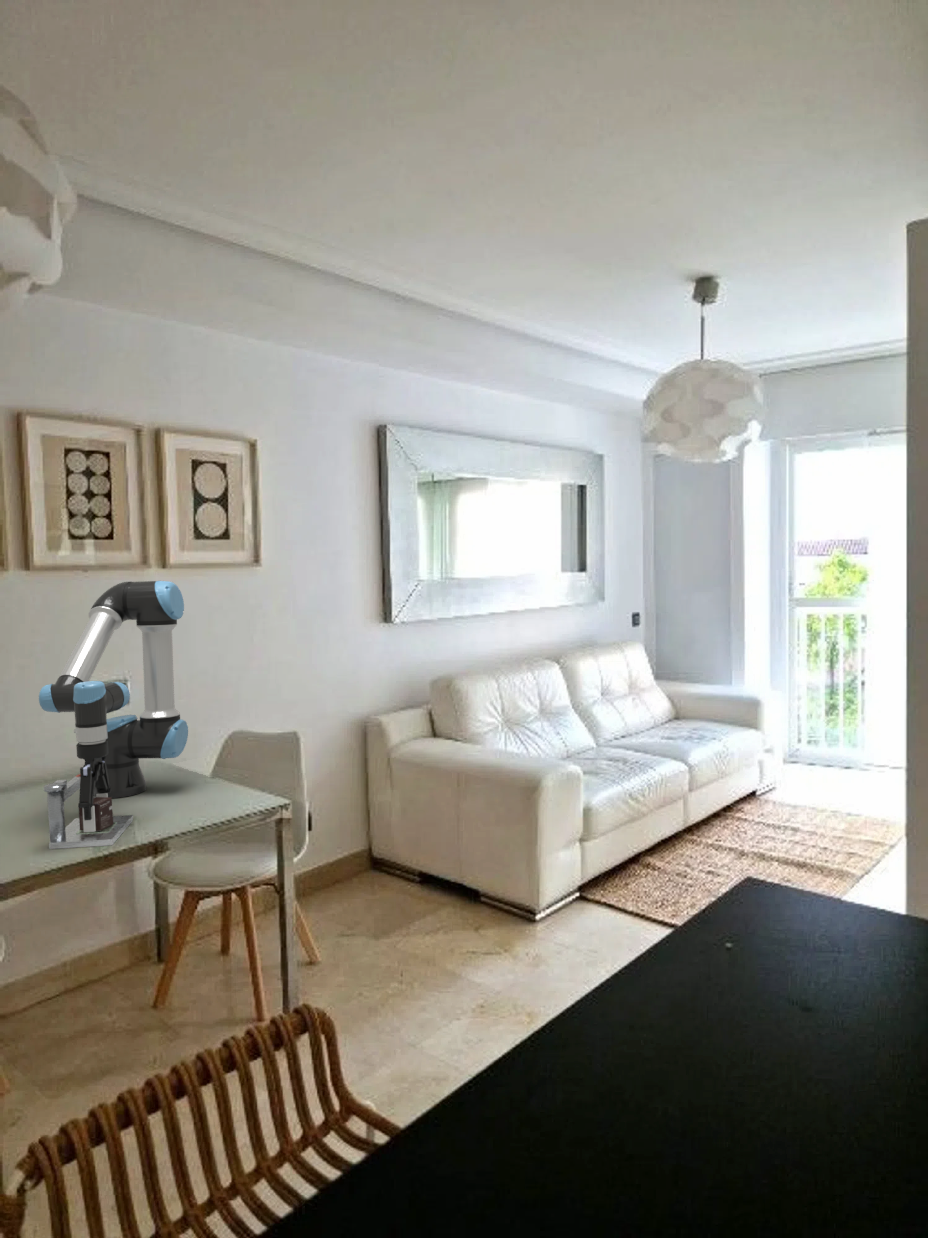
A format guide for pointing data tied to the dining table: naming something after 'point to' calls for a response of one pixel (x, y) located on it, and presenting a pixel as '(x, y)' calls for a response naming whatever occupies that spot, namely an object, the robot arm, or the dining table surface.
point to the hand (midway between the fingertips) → (96, 824)
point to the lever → (64, 786)
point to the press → (72, 832)
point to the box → (100, 813)
